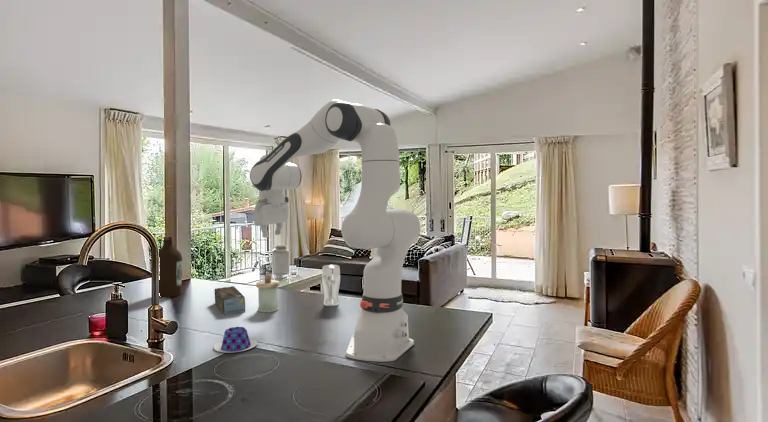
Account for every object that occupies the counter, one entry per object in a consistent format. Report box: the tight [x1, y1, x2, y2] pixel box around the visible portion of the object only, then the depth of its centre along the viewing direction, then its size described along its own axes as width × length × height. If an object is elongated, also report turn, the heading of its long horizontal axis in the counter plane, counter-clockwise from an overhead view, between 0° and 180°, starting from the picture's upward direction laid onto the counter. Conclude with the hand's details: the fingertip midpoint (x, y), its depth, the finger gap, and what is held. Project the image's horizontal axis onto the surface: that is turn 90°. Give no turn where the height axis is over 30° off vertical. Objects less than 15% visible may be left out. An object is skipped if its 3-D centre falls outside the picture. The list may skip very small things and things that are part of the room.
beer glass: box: [321, 264, 341, 307], centre depth 173 cm, size 7×7×15 cm
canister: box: [257, 286, 280, 313], centre depth 165 cm, size 8×8×9 cm
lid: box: [255, 273, 280, 288], centre depth 165 cm, size 8×8×4 cm
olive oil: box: [158, 235, 183, 298], centre depth 188 cm, size 11×11×25 cm
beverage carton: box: [214, 285, 246, 315], centre depth 169 cm, size 8×19×7 cm, turn 30°
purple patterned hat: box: [213, 326, 259, 354], centre depth 127 cm, size 12×12×5 cm
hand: (272, 235), depth 165 cm, fingers open, 8 cm apart
